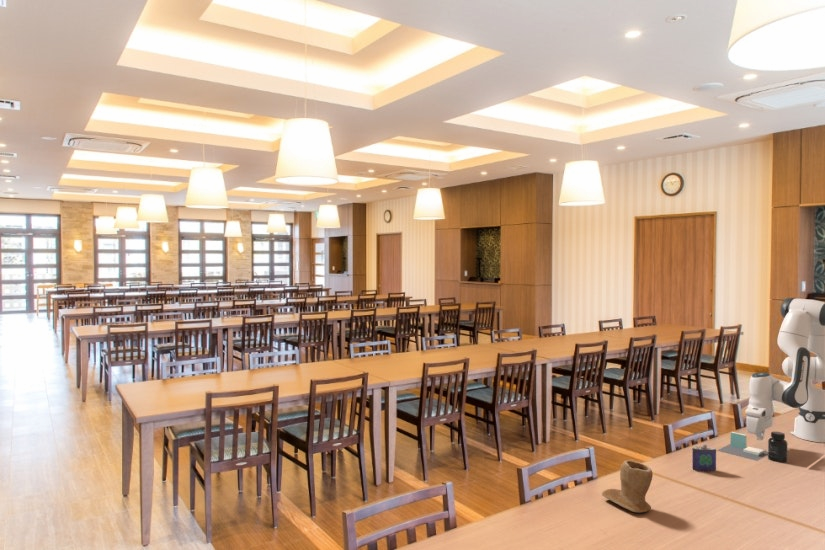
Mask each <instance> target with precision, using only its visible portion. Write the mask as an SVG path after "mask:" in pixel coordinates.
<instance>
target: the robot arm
mask: <svg viewBox="0 0 825 550" xmlns="http://www.w3.org/2000/svg"><path fill="white" fill-rule="evenodd" d="M780 314H781V316H782V317H783V319H782V323H781V326H780V328H779V332H778V335H777V339H776V340H777V342H776V343H777V346H778V348H779V349H780V350H781V351H782V352H783V353H784V354H785V355H787V357H785V358H784V360H783V361H782V364H781V368H782V371H783V373H784V374H785V375H786V377H788V378H789V379H790V380H791V381H790V382H789V381H786V380H783V379H778V378H777V377H774V376H772V375H771V374H770V373H769V372H762V371H761V372H760V371H759V372H754V373H752V374H751V376H750V377H749V378H750V379H749V381H748V382H749V385H748V393H749V399H748V405H747V408H746V409H745V410H744V411H745V412H744V413H745V415H746V420H745V421H746V431H747V433H749V434H751V435H753V434H754V435H756V440H757V441H763V440H764V438H765V437H764V436H765V433H766V430H767V429H770V428H771V427H773V421H774V419H773V401H775V402H778V403H781V404H784V405H786V406H788V407H791V408H793V409H798V415H797V416H796V417H795V418H794V430H791V431H790V434H791V435H793V436H796V437H797V438H799V439H802V440H805V441H808V442H809V441H810V442H815V443H825V390H824V389H823V388H821V387H818V386H816V385H815V384H813V381H819V382H820V381H821V382H825V301H821V300H816V299H812V298H811V299H807V298H797V297H788V298H786V299H784V300H783V301H782V302H781V305H780ZM811 353H812V354H814V355H816V356H811Z"/></svg>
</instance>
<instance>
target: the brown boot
mask: <svg viewBox="0 0 825 550" xmlns="http://www.w3.org/2000/svg"><path fill="white" fill-rule="evenodd" d="M653 475H654V474H653V469H651V468H650V467H649V466H648V465H646V464H644V463H641V462H639V461H635V460H624V461H623V462H622V463H621V465H620V471H619V478H620V489H619V488H608V489H605V490H604V491H602V493H601V496H602V497H604V498H606V499H607V500H609V501H611V502H613V503H614V504H616V505H618V506H620V507H622V508H623V509H626V510H628V511H630V512H633V513H646V512H649V511H650V510H651V509H652V505H650V504H649V503H648V502H647V501H646V495H647V493H648V491H649V489H650V487H651V483H652V480H653Z"/></svg>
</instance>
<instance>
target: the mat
mask: <svg viewBox="0 0 825 550" xmlns="http://www.w3.org/2000/svg"><path fill="white" fill-rule="evenodd" d="M747 447H748V446H746V448H747ZM716 452H721V453H723V454H729V455H732V456H736V457H739V458H744V459H749V460H753V461H760V460H761V459H763V458H764V457H766V456H768V450H767V451H766V450H764V454H762V455H760V456H755V455H751V454H747V453H743V448H739V447H735V446H731V443H729V444H727V445H725V446H723V447H721V448H719V449H718V450H717V449H716Z"/></svg>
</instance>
